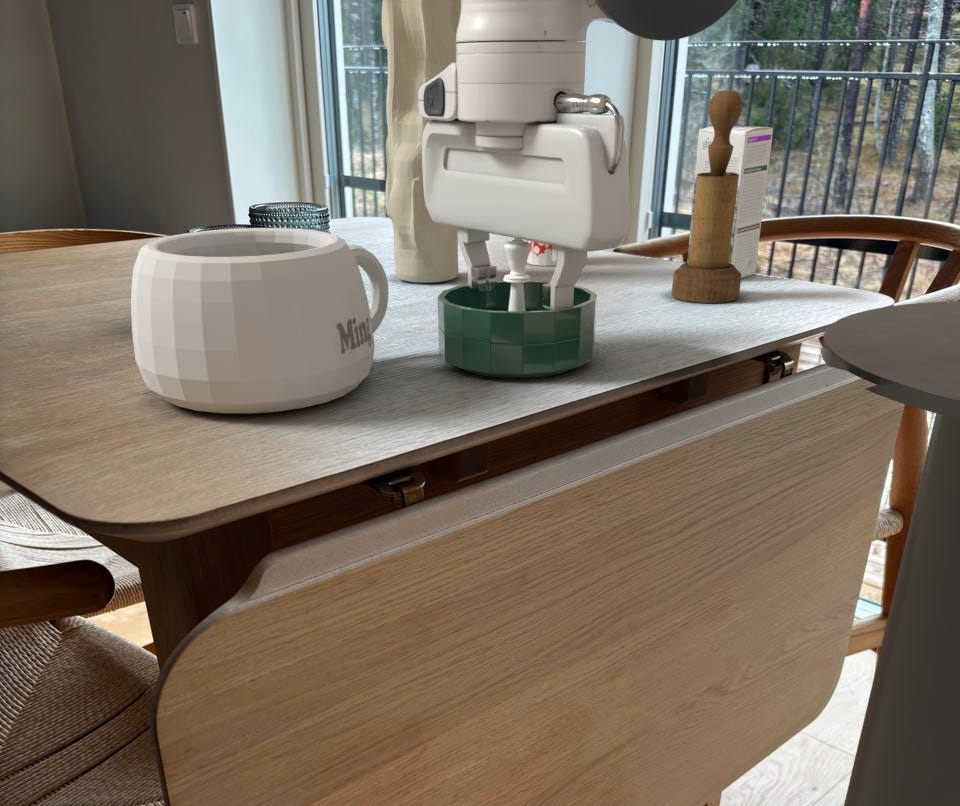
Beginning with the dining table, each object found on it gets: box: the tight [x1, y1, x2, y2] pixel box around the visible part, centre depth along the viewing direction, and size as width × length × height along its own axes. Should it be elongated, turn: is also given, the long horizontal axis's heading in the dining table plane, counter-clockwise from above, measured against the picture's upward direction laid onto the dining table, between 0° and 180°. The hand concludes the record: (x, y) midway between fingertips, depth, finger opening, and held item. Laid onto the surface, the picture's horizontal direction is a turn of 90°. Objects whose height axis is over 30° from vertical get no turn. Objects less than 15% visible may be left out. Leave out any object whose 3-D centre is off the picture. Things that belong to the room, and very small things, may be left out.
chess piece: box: [502, 238, 533, 312], centre depth 74 cm, size 5×5×10 cm
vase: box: [381, 0, 461, 284], centre depth 99 cm, size 9×8×30 cm
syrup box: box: [686, 125, 774, 279], centre depth 104 cm, size 6×6×14 cm
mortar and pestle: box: [670, 89, 743, 304], centre depth 93 cm, size 7×6×18 cm
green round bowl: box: [437, 280, 598, 379], centre depth 76 cm, size 12×12×5 cm
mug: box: [130, 227, 389, 414], centre depth 70 cm, size 21×17×10 cm
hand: (518, 299), depth 75 cm, fingers open, 8 cm apart
